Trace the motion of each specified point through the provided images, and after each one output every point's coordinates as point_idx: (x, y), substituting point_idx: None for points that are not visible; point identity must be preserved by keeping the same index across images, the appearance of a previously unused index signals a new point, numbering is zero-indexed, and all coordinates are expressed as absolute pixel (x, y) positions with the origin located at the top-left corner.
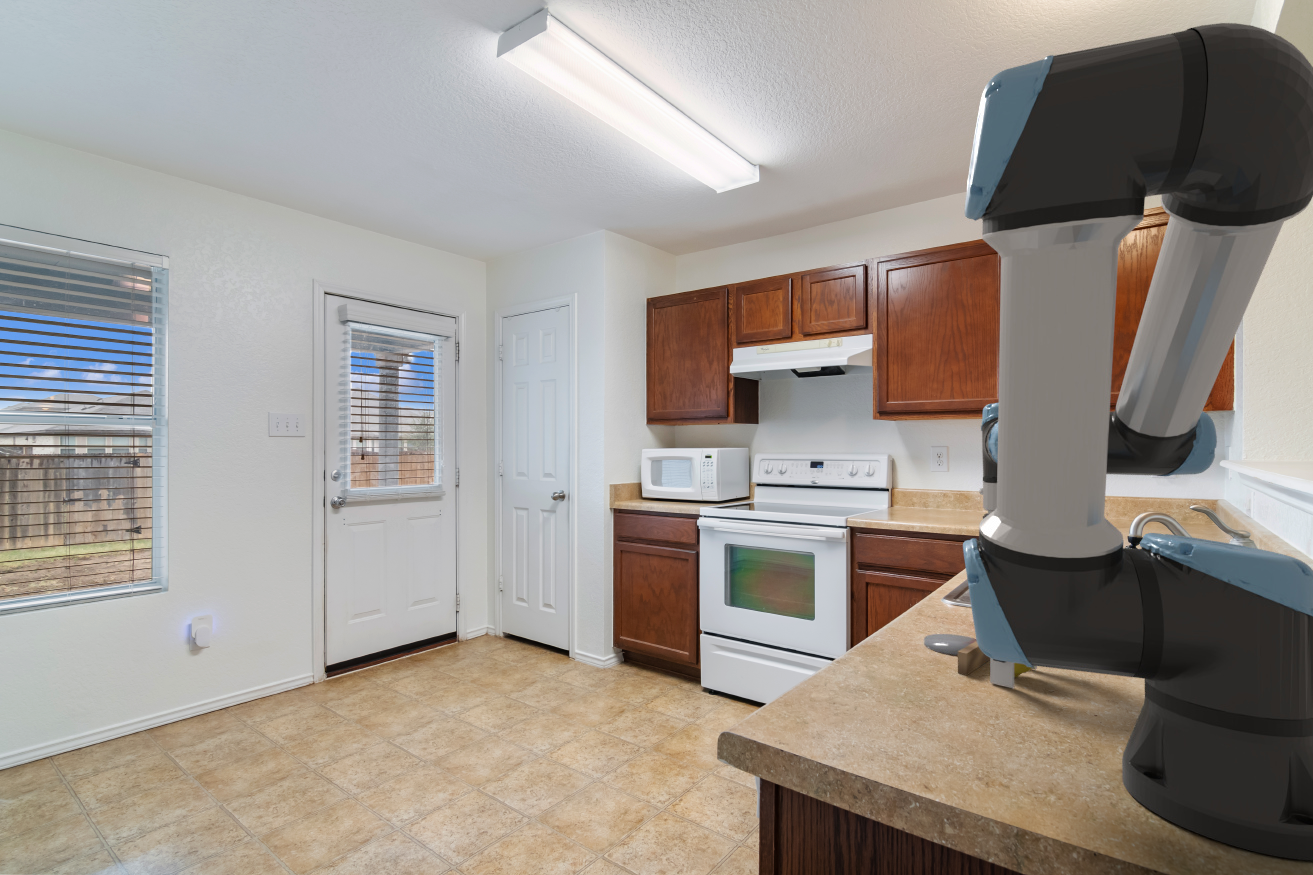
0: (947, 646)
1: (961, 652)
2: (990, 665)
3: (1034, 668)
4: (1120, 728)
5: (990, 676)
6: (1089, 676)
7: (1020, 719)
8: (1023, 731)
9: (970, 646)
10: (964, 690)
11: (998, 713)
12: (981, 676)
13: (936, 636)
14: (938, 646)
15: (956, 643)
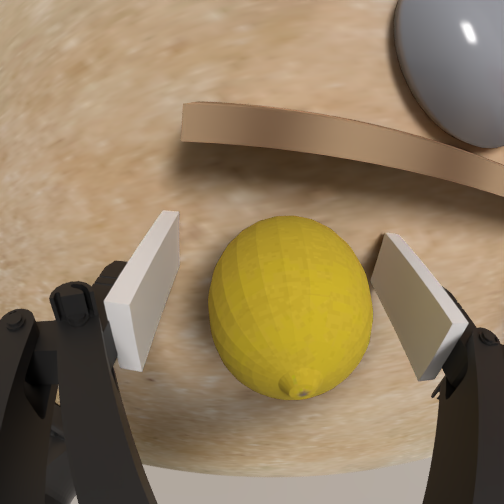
0: (427, 30)
1: (183, 119)
2: (147, 233)
3: (372, 280)
4: (127, 397)
5: (158, 217)
6: (384, 357)
7: (30, 296)
8: (3, 303)
9: (306, 126)
10: (69, 171)
11: (20, 264)
12: (218, 169)
13: (498, 7)
14: (407, 3)
15: (474, 60)
